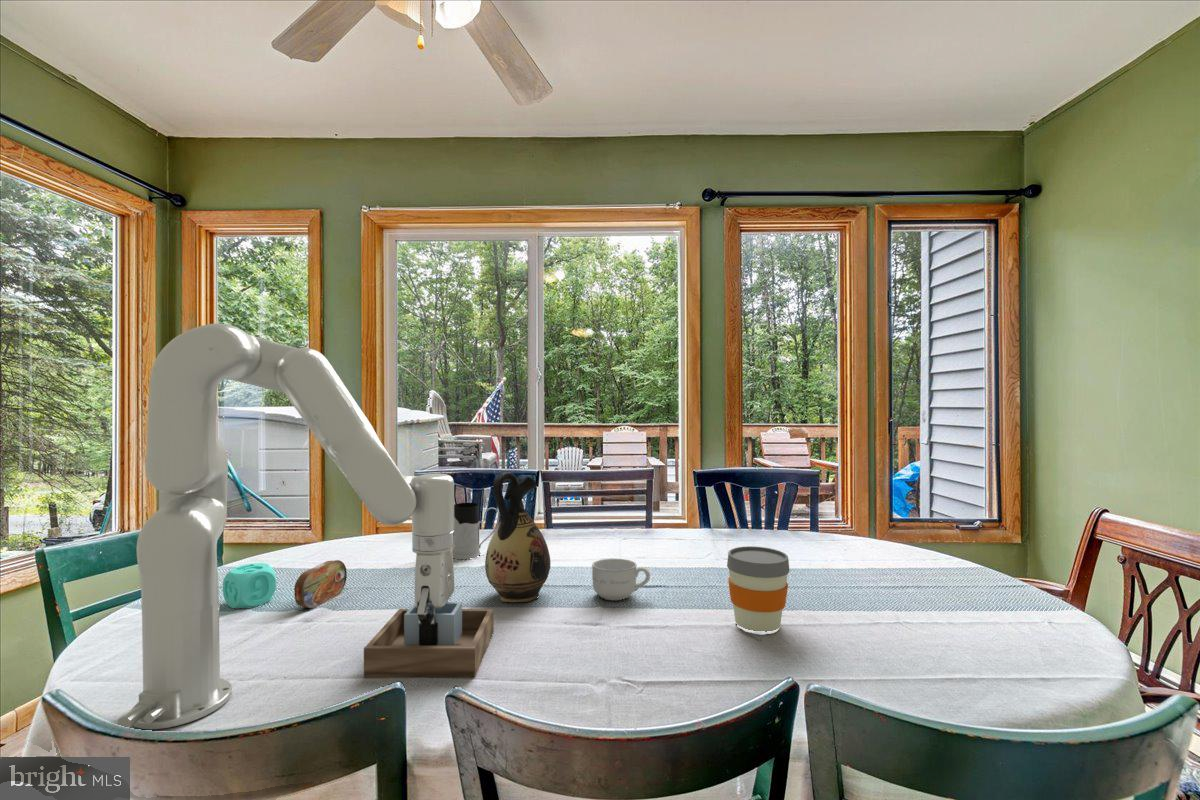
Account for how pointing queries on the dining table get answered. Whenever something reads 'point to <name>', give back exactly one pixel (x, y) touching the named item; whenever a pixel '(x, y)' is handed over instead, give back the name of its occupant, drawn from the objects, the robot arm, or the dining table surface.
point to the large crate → (429, 649)
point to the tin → (320, 584)
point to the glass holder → (467, 530)
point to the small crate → (445, 617)
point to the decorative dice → (249, 585)
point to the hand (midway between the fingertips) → (433, 636)
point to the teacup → (616, 578)
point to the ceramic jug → (516, 545)
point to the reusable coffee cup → (758, 586)
